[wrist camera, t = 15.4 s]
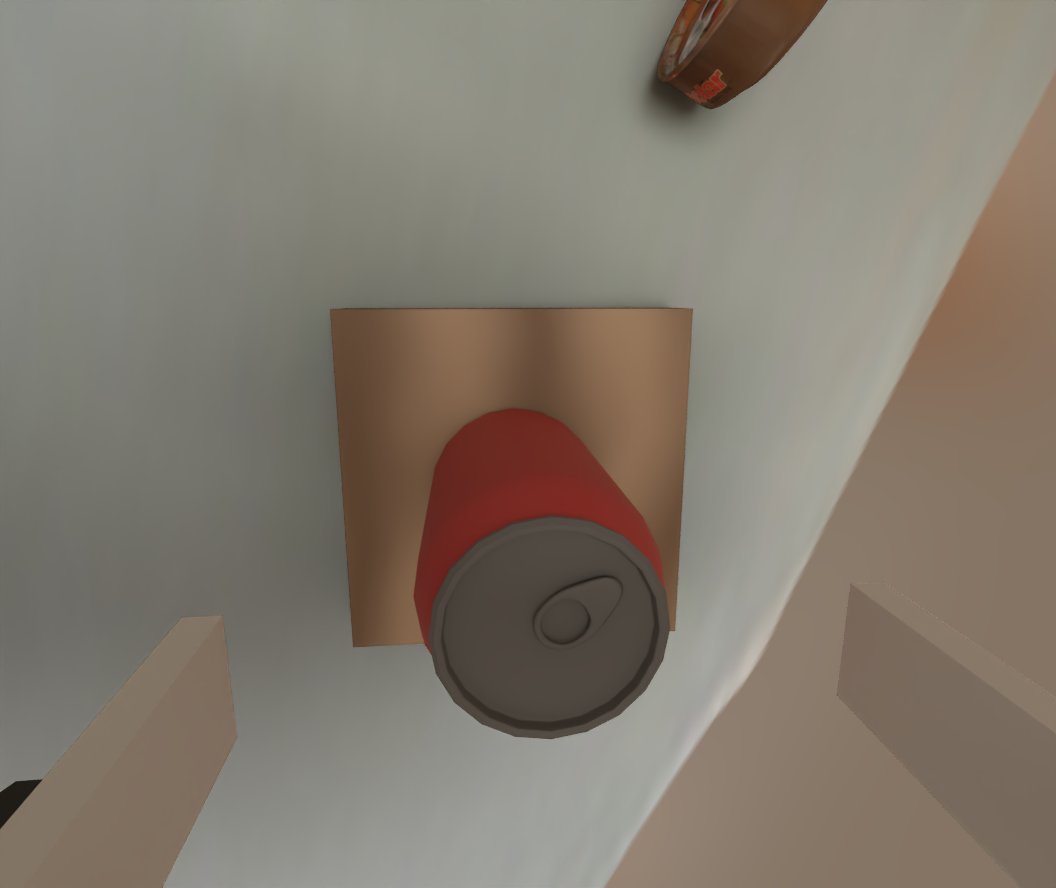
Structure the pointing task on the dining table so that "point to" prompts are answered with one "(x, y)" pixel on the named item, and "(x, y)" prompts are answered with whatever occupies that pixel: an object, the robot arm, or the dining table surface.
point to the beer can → (537, 580)
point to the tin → (730, 44)
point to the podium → (490, 386)
